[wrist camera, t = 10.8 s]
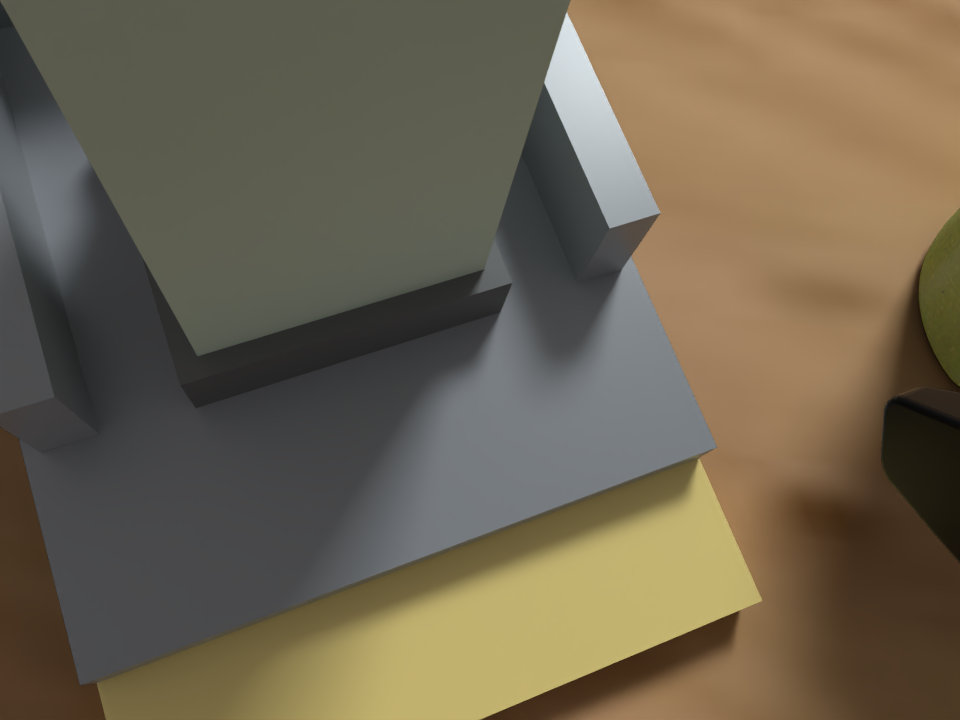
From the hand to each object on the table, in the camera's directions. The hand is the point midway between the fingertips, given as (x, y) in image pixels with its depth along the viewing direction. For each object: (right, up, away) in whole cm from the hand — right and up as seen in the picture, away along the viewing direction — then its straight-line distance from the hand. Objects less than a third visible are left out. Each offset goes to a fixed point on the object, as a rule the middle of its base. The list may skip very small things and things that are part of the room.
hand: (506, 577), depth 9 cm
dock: (-3, +3, +11) cm, 11 cm away
